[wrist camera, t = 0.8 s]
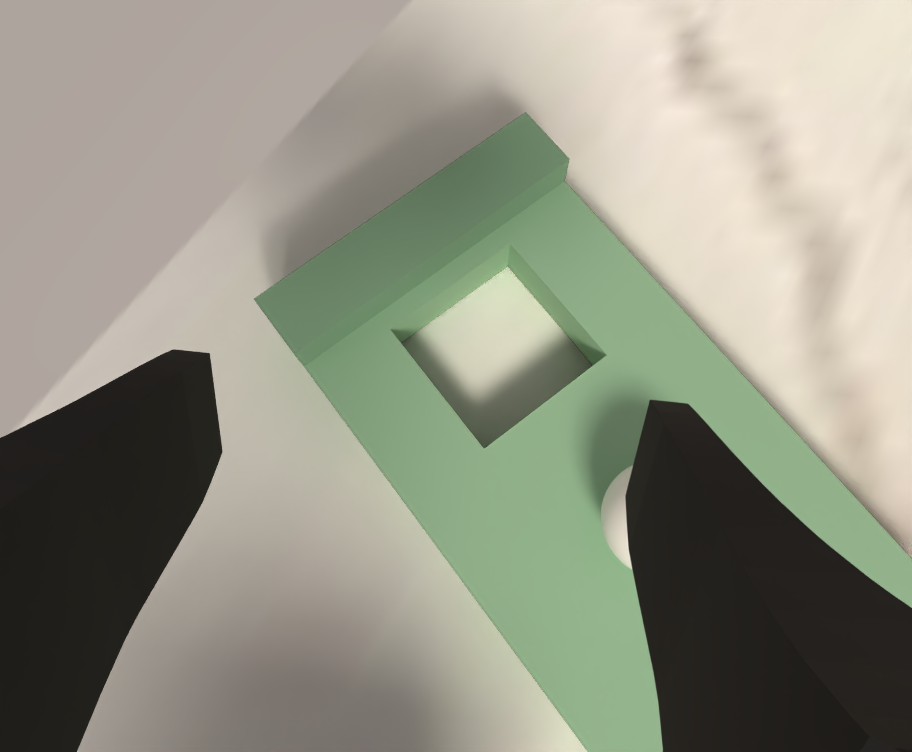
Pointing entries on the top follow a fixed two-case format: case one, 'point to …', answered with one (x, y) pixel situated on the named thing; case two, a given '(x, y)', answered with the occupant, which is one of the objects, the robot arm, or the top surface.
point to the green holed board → (542, 416)
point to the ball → (617, 517)
